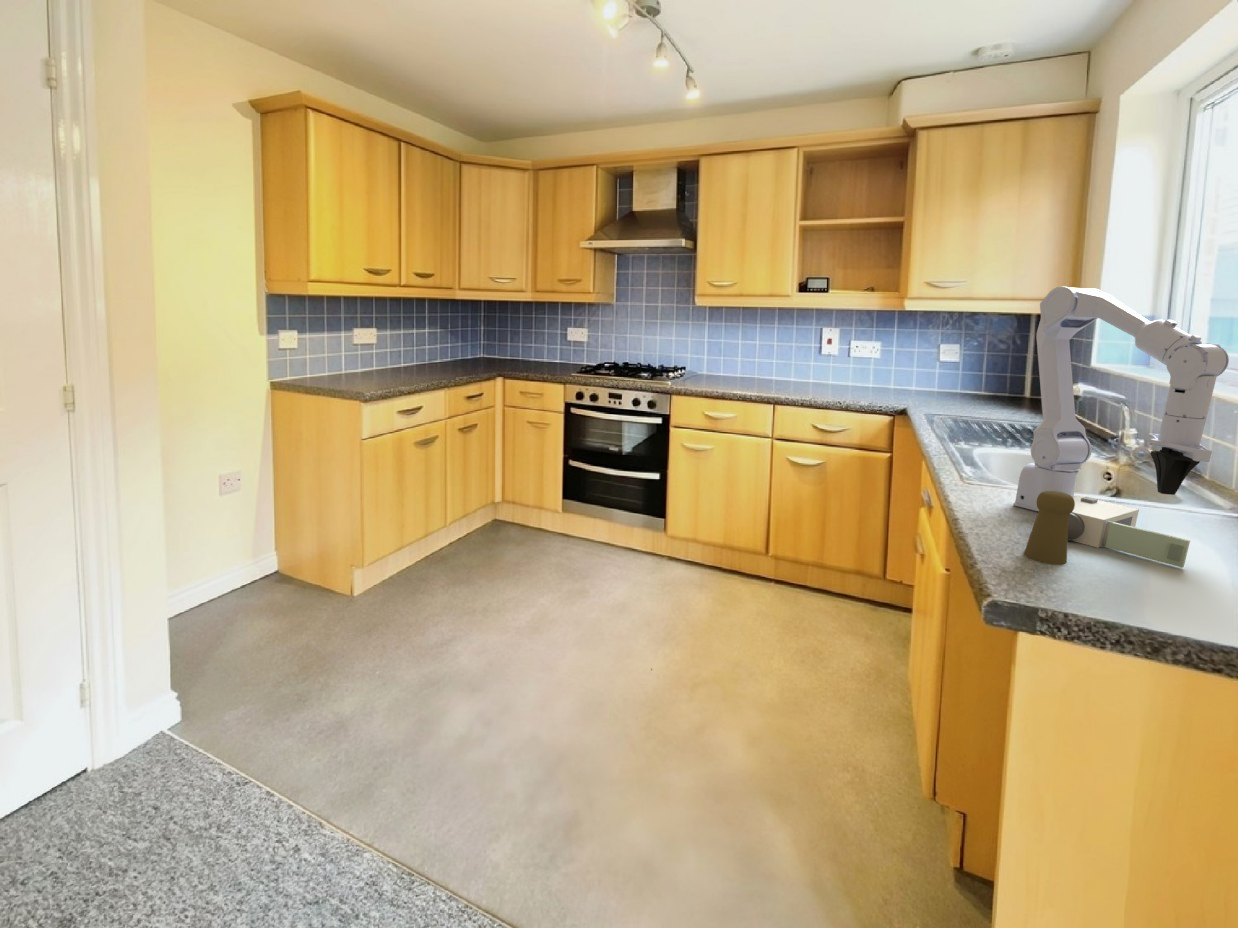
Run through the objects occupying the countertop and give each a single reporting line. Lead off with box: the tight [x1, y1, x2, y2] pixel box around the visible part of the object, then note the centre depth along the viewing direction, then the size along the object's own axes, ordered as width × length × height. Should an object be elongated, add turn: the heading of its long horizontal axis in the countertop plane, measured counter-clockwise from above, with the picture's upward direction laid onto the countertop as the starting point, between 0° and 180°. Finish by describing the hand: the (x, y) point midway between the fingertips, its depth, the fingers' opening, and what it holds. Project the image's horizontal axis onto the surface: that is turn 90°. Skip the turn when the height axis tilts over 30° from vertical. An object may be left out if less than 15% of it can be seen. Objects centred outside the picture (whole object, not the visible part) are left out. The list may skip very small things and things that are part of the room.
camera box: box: [1067, 495, 1140, 548], centre depth 126 cm, size 10×16×6 cm, turn 124°
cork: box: [1023, 491, 1075, 565], centre depth 112 cm, size 6×6×11 cm
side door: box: [1102, 521, 1191, 568], centre depth 114 cm, size 1×11×4 cm, turn 35°
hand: (1166, 493), depth 120 cm, fingers closed
